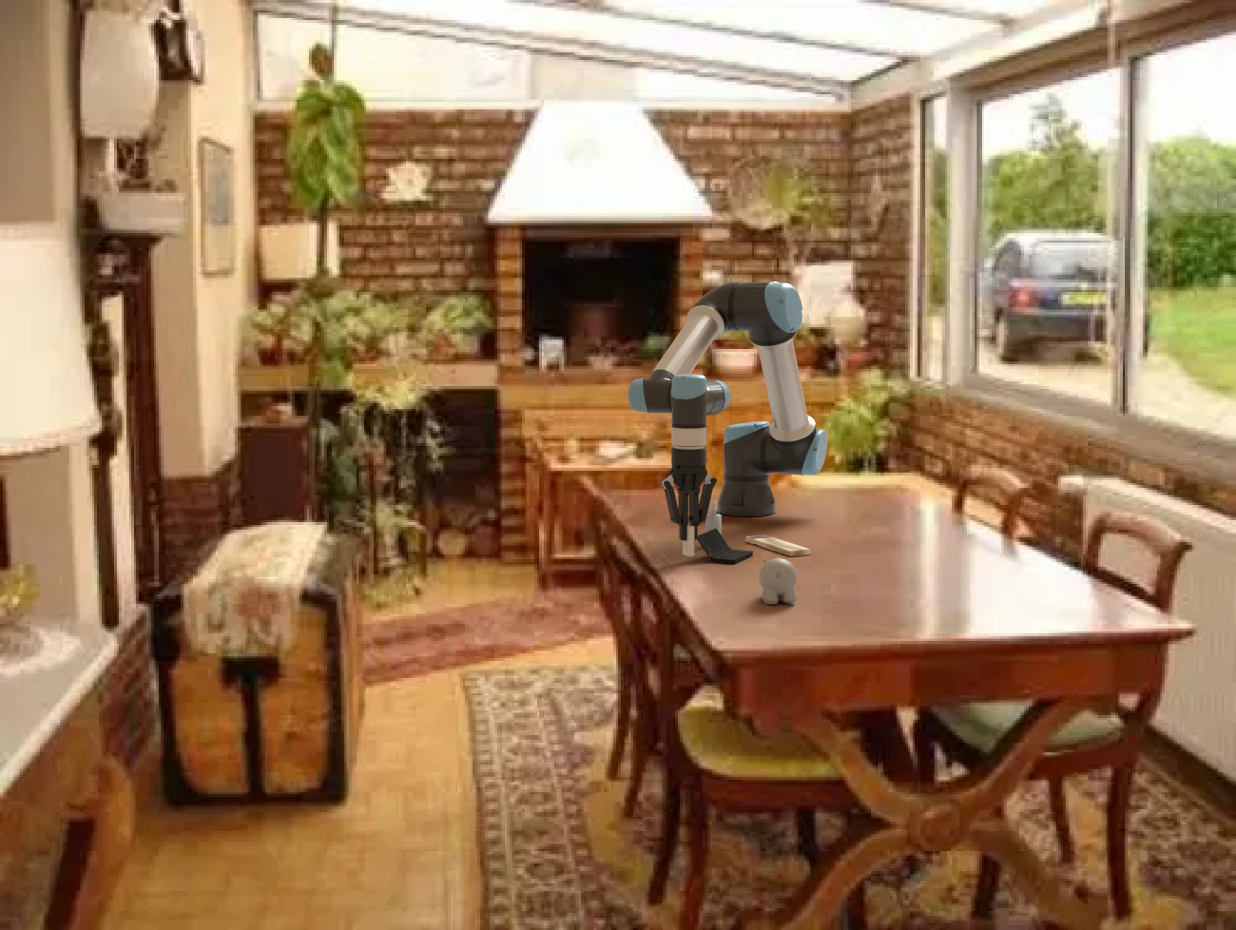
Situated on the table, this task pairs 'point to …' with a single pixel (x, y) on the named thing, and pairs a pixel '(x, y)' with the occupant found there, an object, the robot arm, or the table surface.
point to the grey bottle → (713, 519)
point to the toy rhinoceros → (778, 581)
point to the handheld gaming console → (720, 548)
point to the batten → (778, 545)
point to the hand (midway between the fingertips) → (688, 554)
